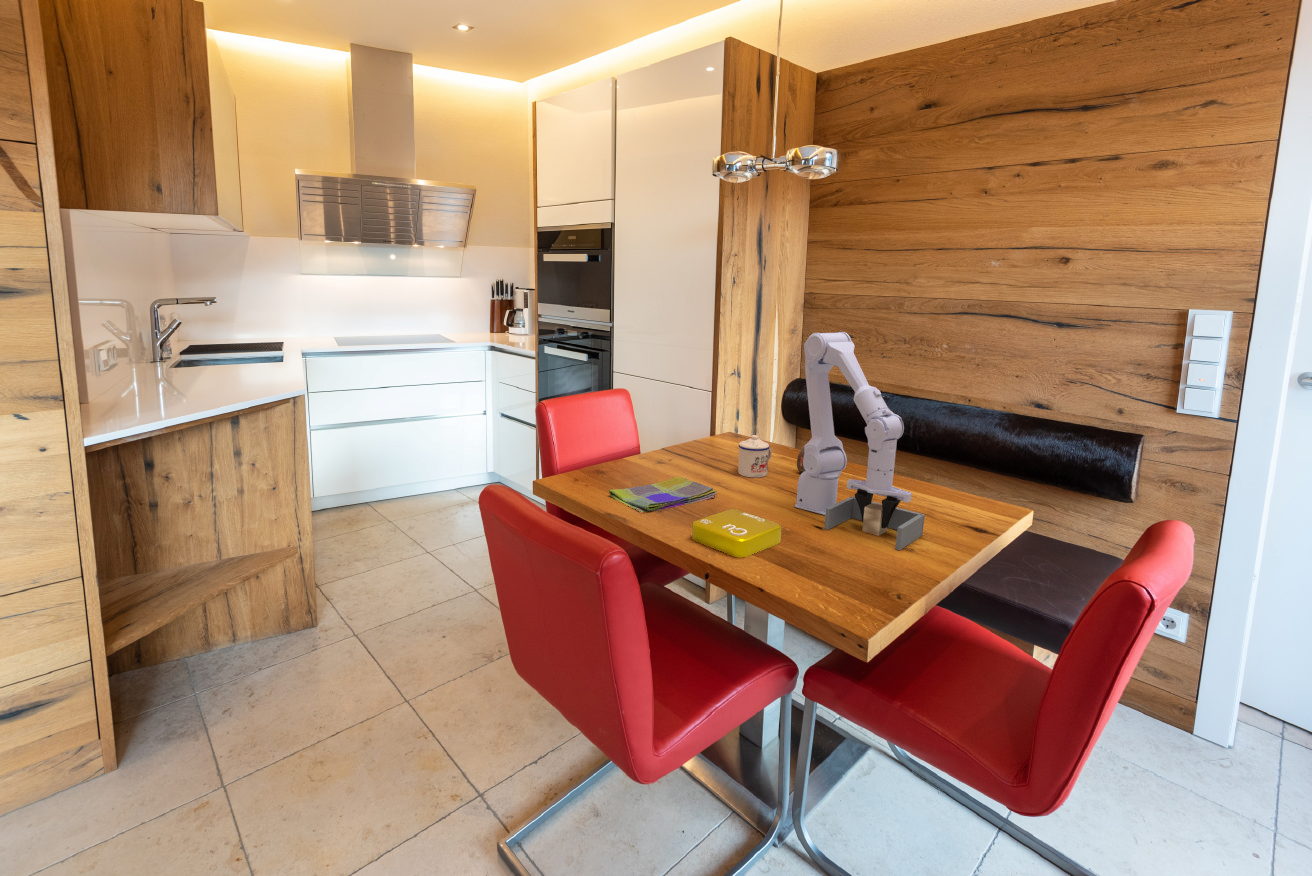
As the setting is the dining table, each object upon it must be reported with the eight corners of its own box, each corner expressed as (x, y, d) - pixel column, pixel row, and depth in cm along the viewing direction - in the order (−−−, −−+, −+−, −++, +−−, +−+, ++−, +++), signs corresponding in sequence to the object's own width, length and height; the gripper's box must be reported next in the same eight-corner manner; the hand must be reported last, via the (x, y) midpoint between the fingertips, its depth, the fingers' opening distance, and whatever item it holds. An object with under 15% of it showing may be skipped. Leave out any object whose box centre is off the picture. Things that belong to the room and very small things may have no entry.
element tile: (784, 543, 148) (785, 522, 147) (740, 561, 138) (741, 539, 137) (732, 524, 158) (733, 505, 157) (688, 540, 148) (688, 520, 147)
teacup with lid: (753, 480, 192) (755, 440, 190) (730, 472, 199) (732, 434, 196) (781, 473, 200) (783, 435, 197) (758, 466, 206) (760, 429, 204)
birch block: (862, 531, 154) (864, 506, 153) (870, 526, 157) (872, 502, 156) (878, 535, 152) (881, 510, 150) (886, 531, 155) (888, 506, 153)
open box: (824, 528, 155) (825, 508, 154) (849, 515, 164) (851, 496, 163) (899, 550, 144) (902, 528, 142) (922, 535, 153) (924, 514, 151)
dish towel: (606, 497, 177) (606, 487, 176) (679, 482, 191) (680, 473, 190) (643, 516, 163) (643, 505, 162) (719, 499, 177) (719, 489, 176)
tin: (817, 464, 210) (819, 438, 208) (827, 466, 208) (829, 439, 206) (794, 474, 199) (796, 446, 197) (804, 476, 197) (806, 448, 195)
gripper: (842, 464, 153) (837, 520, 156) (904, 478, 143) (898, 537, 147) (856, 459, 158) (852, 513, 161) (917, 471, 148) (911, 529, 152)
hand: (875, 524), depth 154 cm, fingers open, 4 cm apart
